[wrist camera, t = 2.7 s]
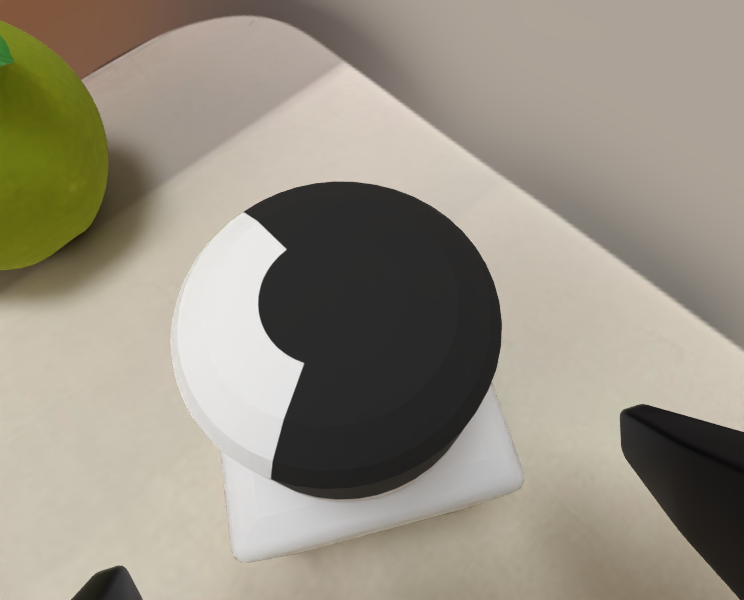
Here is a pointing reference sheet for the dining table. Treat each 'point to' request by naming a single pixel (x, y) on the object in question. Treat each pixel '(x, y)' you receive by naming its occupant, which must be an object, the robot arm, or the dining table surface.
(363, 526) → the medicine bottle
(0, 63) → the fruit
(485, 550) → the dining table surface
